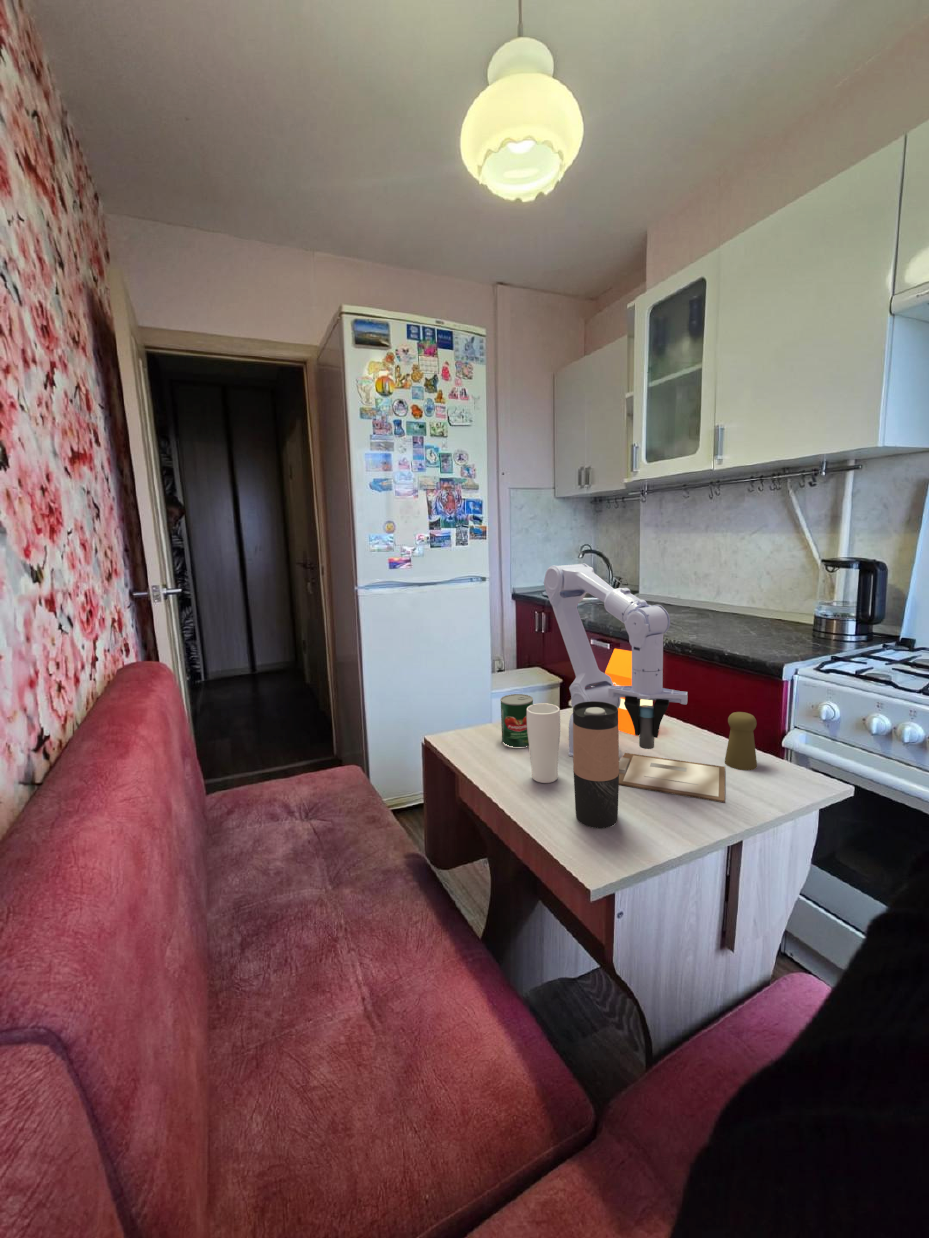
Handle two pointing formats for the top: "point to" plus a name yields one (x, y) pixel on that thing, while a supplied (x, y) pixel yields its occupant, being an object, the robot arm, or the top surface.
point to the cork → (741, 742)
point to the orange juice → (622, 676)
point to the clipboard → (673, 776)
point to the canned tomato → (515, 719)
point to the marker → (646, 726)
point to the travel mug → (596, 763)
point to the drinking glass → (543, 741)
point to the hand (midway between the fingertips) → (646, 734)
